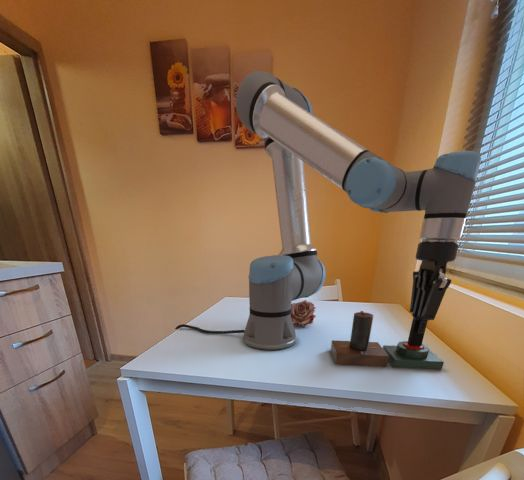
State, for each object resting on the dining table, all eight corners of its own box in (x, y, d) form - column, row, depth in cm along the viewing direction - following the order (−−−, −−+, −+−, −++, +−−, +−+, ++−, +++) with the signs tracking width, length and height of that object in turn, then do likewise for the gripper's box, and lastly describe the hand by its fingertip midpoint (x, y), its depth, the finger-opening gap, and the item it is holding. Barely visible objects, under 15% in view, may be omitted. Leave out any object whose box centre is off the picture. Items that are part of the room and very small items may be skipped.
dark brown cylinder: (369, 351, 67) (376, 316, 64) (351, 350, 68) (356, 315, 64) (365, 344, 71) (370, 311, 68) (347, 343, 72) (352, 310, 68)
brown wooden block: (335, 365, 67) (337, 353, 66) (330, 350, 75) (331, 339, 74) (386, 367, 66) (389, 355, 65) (375, 352, 74) (378, 341, 73)
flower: (288, 314, 101) (286, 300, 95) (313, 310, 100) (313, 295, 94) (292, 336, 96) (290, 322, 90) (318, 331, 95) (318, 317, 89)
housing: (393, 367, 66) (396, 352, 64) (381, 352, 74) (384, 338, 73) (441, 370, 65) (446, 354, 64) (424, 354, 73) (428, 340, 72)
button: (406, 354, 67) (408, 348, 66) (400, 348, 71) (402, 342, 70) (423, 355, 67) (425, 348, 66) (416, 349, 70) (418, 342, 70)
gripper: (476, 242, 52) (443, 356, 62) (441, 240, 64) (418, 336, 74) (435, 241, 53) (408, 354, 62) (408, 240, 65) (389, 335, 74)
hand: (414, 344), depth 68 cm, fingers closed
